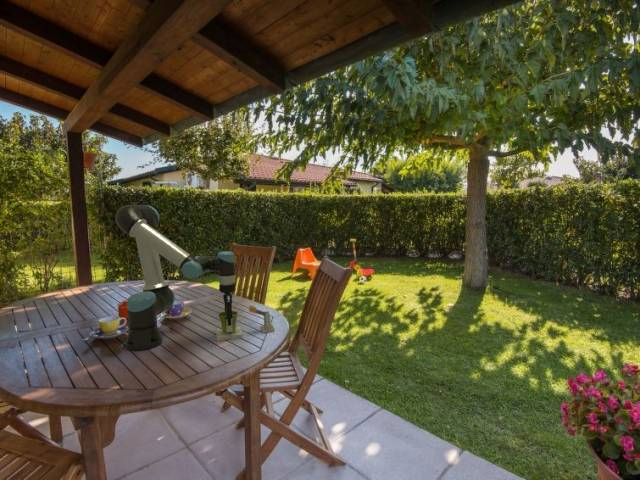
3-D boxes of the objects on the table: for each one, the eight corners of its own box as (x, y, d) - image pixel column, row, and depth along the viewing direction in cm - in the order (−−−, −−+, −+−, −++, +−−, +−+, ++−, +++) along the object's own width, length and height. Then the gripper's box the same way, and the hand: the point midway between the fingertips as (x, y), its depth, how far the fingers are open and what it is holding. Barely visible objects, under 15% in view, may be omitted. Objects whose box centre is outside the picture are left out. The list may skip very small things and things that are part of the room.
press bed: (217, 340, 162) (216, 337, 162) (216, 332, 173) (216, 329, 173) (242, 337, 166) (242, 334, 166) (240, 329, 177) (240, 326, 176)
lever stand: (262, 333, 171) (262, 315, 170) (260, 328, 178) (259, 311, 177) (274, 331, 173) (274, 314, 172) (271, 326, 180) (271, 310, 179)
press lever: (249, 312, 170) (251, 307, 170) (248, 309, 174) (250, 305, 174) (268, 318, 173) (270, 314, 173) (267, 315, 177) (269, 311, 177)
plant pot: (233, 334, 164) (232, 316, 163) (215, 333, 166) (214, 315, 165) (241, 328, 173) (241, 311, 172) (224, 326, 175) (223, 310, 174)
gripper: (237, 288, 158) (238, 335, 160) (233, 278, 178) (234, 320, 181) (220, 289, 155) (222, 337, 158) (218, 279, 176) (219, 321, 178)
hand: (228, 327), depth 169 cm, fingers open, 9 cm apart
